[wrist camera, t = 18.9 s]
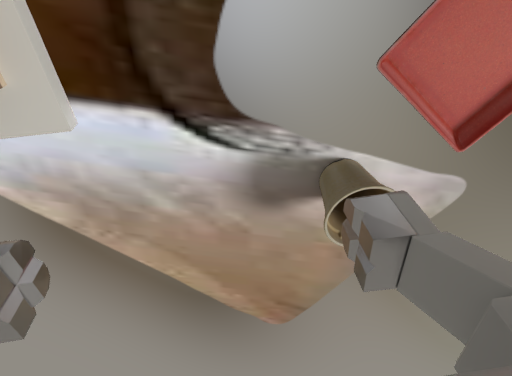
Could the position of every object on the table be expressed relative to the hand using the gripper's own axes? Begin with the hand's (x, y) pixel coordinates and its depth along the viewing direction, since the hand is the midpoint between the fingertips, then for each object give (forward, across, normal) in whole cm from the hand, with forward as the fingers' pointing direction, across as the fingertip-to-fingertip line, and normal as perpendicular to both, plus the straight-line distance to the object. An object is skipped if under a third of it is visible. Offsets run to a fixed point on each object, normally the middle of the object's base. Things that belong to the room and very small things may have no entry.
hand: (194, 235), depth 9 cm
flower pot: (+29, -15, +20) cm, 39 cm away
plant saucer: (+30, -29, +4) cm, 42 cm away
